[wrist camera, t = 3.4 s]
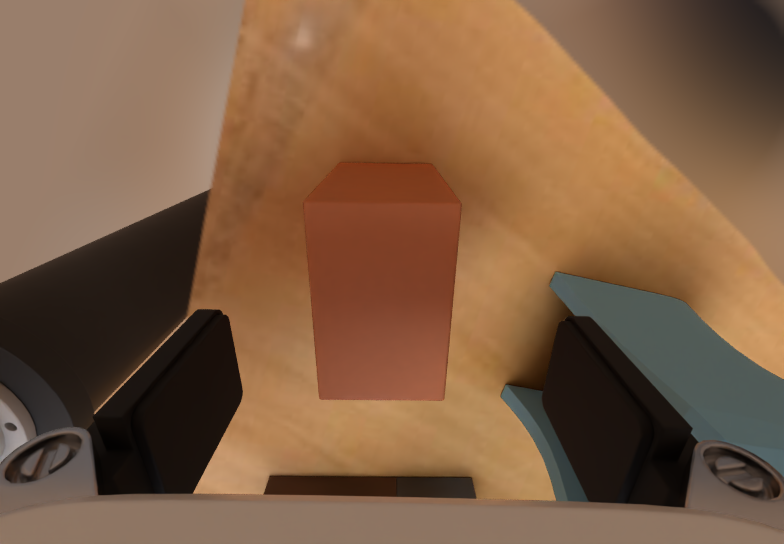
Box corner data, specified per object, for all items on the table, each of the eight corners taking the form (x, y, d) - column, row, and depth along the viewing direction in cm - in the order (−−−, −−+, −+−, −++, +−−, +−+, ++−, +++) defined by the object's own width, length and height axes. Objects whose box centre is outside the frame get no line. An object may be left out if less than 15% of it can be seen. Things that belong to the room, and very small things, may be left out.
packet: (344, 296, 23) (318, 400, 15) (338, 162, 20) (302, 200, 12) (425, 297, 23) (444, 401, 15) (432, 163, 20) (462, 202, 12)
